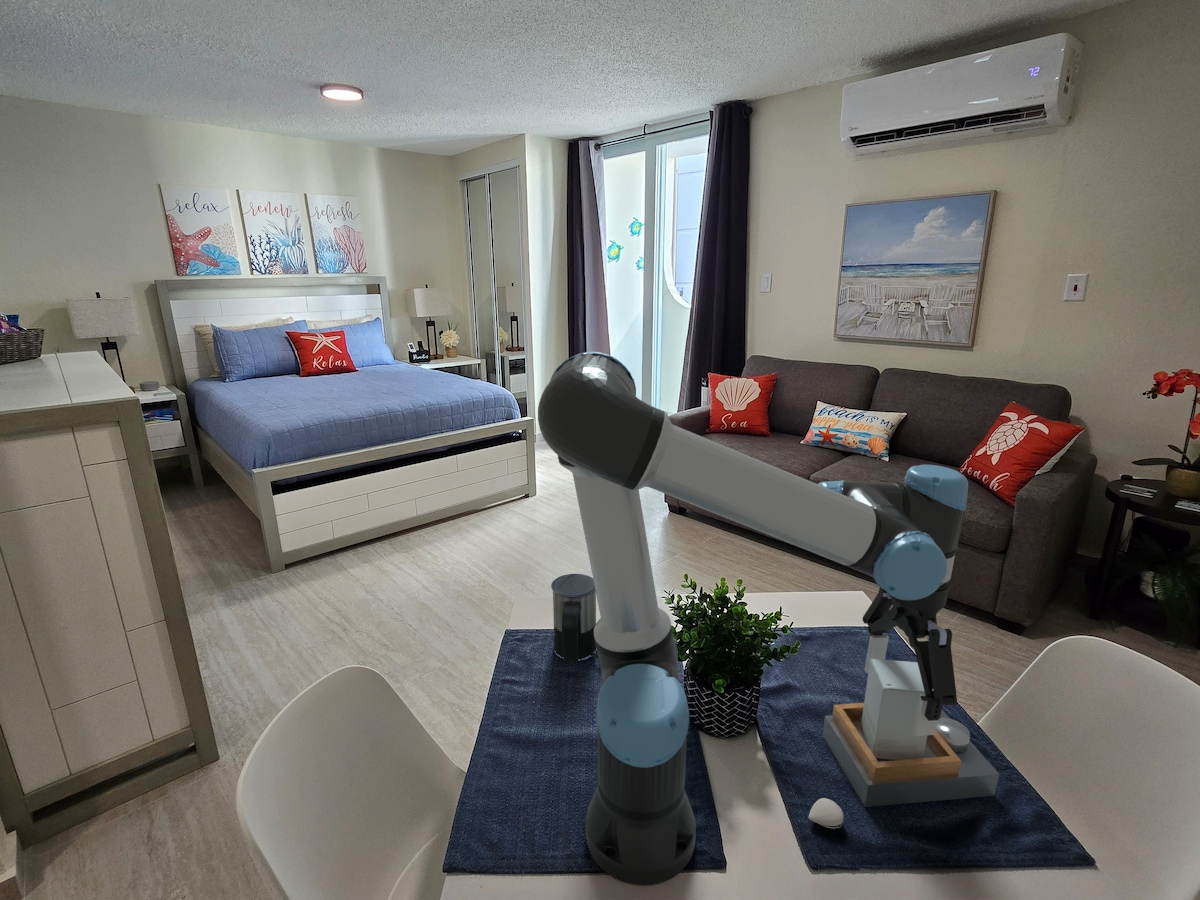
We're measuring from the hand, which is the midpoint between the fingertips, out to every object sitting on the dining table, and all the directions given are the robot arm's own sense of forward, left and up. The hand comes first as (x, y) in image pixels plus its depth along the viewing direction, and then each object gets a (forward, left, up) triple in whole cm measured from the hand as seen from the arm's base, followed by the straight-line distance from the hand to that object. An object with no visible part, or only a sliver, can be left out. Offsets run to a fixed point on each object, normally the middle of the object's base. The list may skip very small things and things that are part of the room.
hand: (896, 700), depth 93 cm
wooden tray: (+3, 0, -12) cm, 12 cm away
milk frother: (-43, +33, -13) cm, 56 cm away
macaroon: (-14, -9, -13) cm, 21 cm away
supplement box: (0, 0, -8) cm, 8 cm away
